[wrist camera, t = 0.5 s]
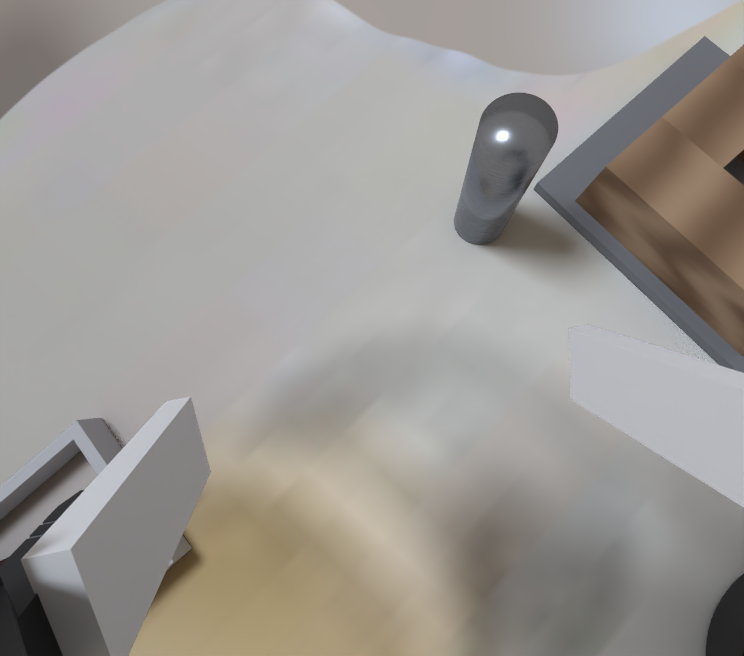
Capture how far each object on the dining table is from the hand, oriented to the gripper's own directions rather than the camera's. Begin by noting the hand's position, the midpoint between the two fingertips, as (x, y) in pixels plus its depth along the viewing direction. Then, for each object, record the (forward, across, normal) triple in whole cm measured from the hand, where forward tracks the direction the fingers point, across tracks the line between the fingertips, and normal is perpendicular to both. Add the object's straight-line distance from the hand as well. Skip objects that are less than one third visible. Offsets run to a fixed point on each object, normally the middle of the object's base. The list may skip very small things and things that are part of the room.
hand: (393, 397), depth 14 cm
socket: (+16, -30, -3) cm, 34 cm away
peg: (+20, -12, -5) cm, 23 cm away
